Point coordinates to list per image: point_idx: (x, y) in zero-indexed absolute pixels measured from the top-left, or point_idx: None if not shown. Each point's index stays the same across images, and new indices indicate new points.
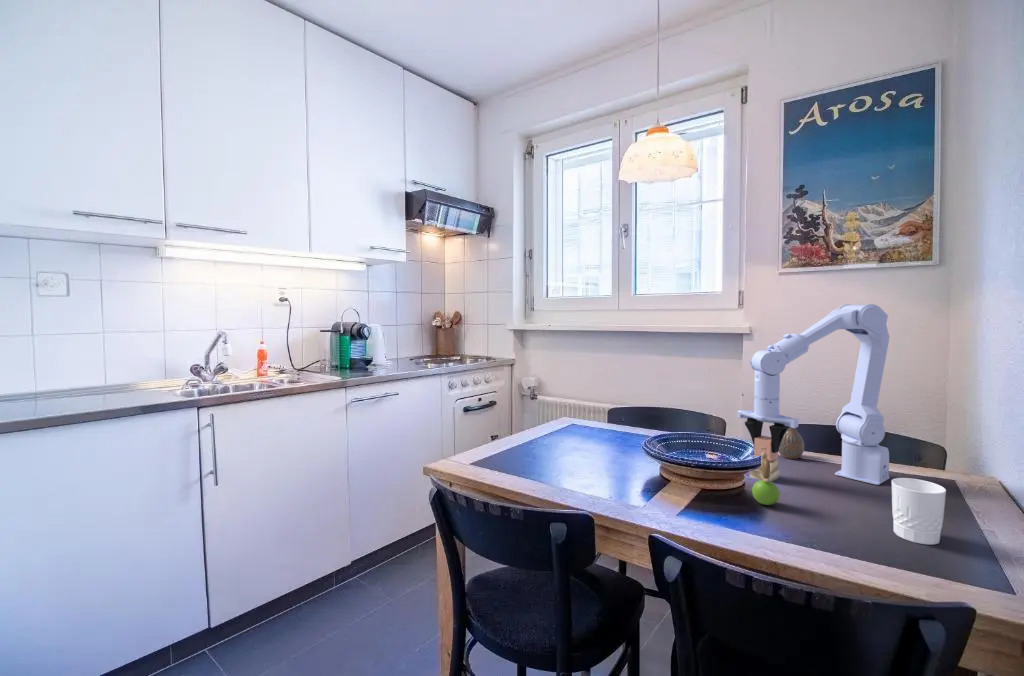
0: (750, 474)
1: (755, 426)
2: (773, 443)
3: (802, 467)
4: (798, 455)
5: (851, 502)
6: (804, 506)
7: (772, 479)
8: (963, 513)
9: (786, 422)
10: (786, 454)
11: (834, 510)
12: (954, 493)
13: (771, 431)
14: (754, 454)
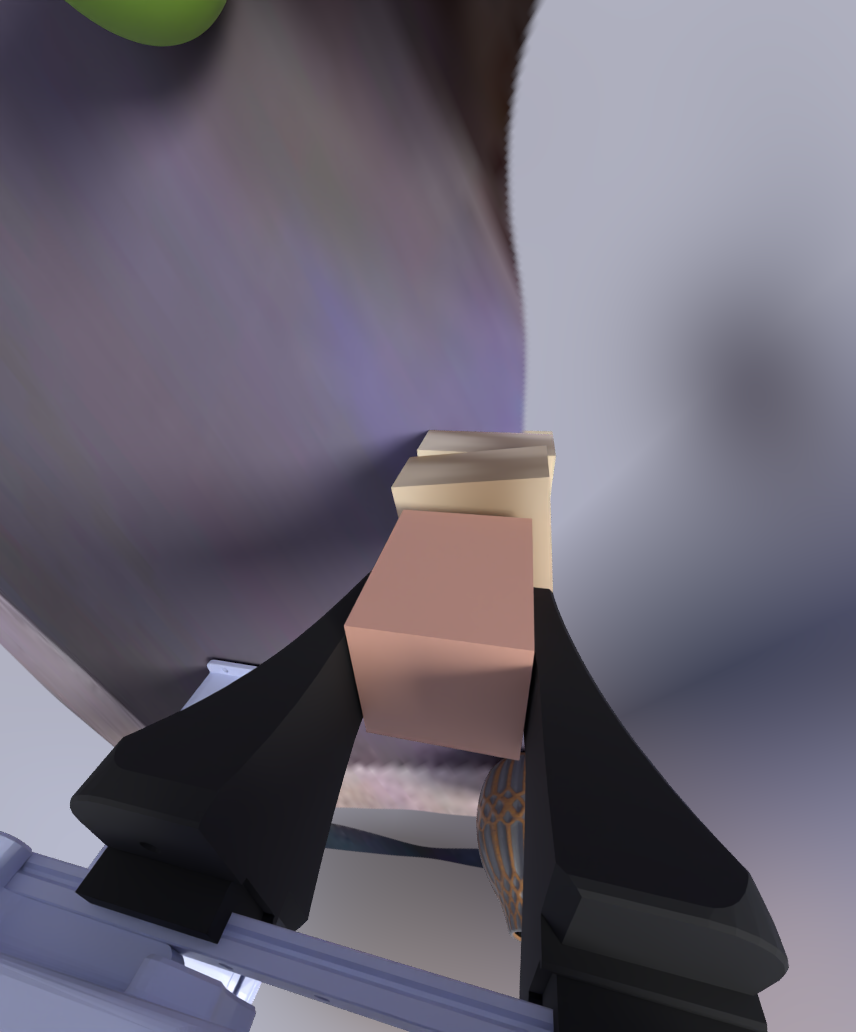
0: (548, 441)
1: (542, 845)
2: (332, 623)
3: None
4: (490, 771)
5: (115, 458)
6: (107, 206)
7: None
8: (9, 590)
9: (44, 943)
10: None
11: (46, 297)
12: (123, 697)
13: (249, 734)
14: (531, 532)
